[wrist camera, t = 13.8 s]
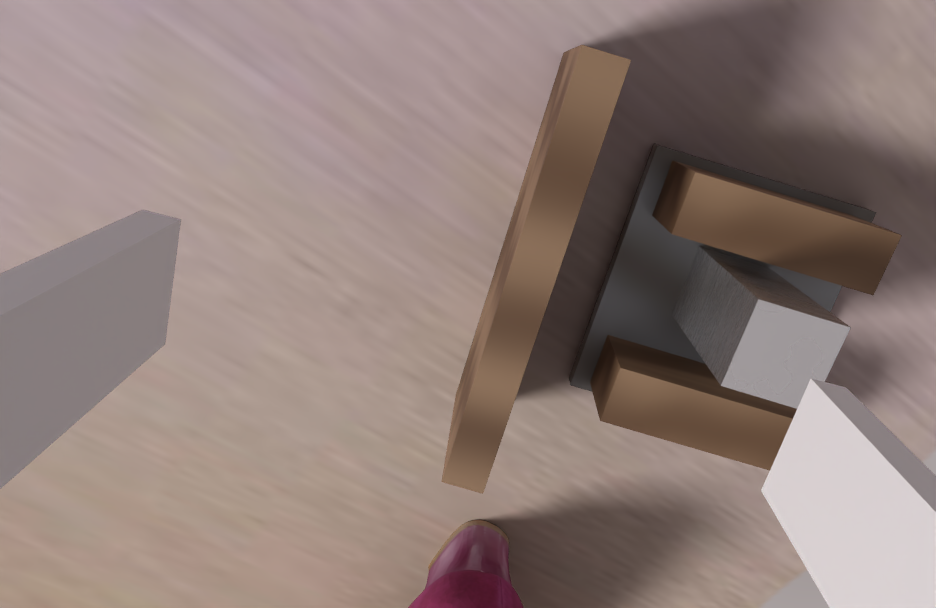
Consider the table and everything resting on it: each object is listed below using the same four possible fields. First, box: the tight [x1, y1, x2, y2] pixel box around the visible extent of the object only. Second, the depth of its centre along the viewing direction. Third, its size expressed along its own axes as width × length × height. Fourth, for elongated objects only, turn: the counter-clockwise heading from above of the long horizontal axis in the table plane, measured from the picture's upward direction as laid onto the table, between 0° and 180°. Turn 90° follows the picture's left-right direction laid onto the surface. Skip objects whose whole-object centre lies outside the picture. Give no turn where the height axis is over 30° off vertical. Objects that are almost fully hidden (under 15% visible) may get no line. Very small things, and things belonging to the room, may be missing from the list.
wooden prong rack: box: [442, 45, 902, 494], centre depth 37 cm, size 20×18×10 cm
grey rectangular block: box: [672, 247, 851, 409], centre depth 36 cm, size 4×4×10 cm
